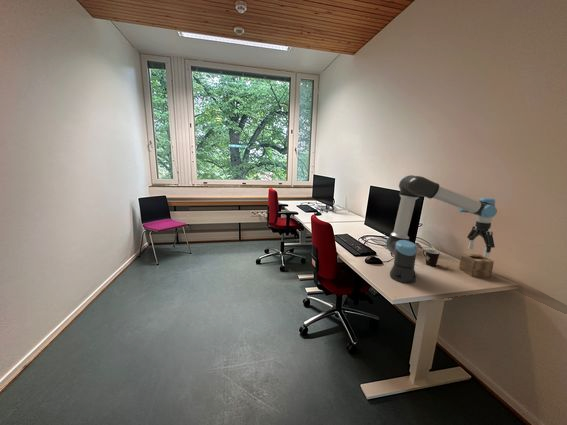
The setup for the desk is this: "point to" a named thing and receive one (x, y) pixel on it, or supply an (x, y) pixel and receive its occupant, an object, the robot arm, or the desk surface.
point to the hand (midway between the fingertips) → (477, 252)
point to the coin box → (476, 265)
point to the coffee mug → (431, 257)
